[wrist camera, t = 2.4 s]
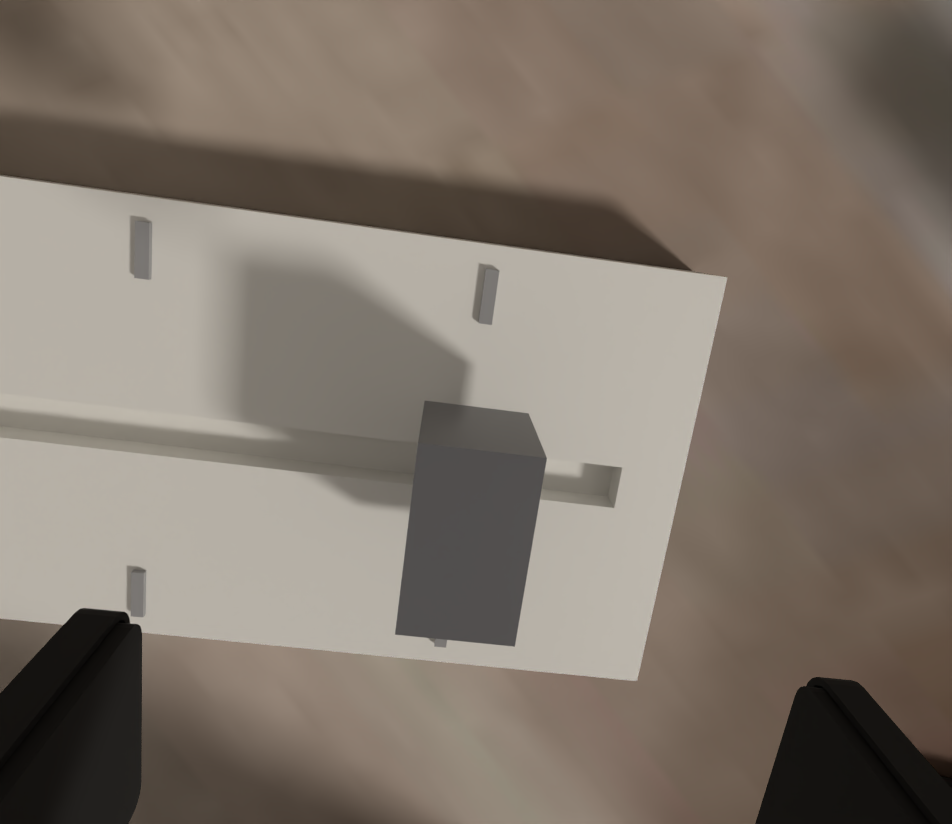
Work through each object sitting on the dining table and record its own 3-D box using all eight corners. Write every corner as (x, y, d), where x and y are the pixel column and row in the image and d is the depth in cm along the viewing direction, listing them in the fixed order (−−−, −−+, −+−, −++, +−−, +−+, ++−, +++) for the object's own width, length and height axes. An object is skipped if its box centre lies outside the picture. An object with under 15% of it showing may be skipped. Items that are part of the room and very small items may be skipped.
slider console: (617, 632, 27) (638, 684, 24) (-310, 537, 25) (-418, 581, 22) (693, 271, 24) (729, 277, 21) (-378, 122, 21) (-519, 104, 18)
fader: (498, 536, 23) (514, 646, 17) (410, 526, 23) (394, 634, 17) (520, 393, 22) (546, 458, 16) (427, 382, 22) (418, 442, 16)
